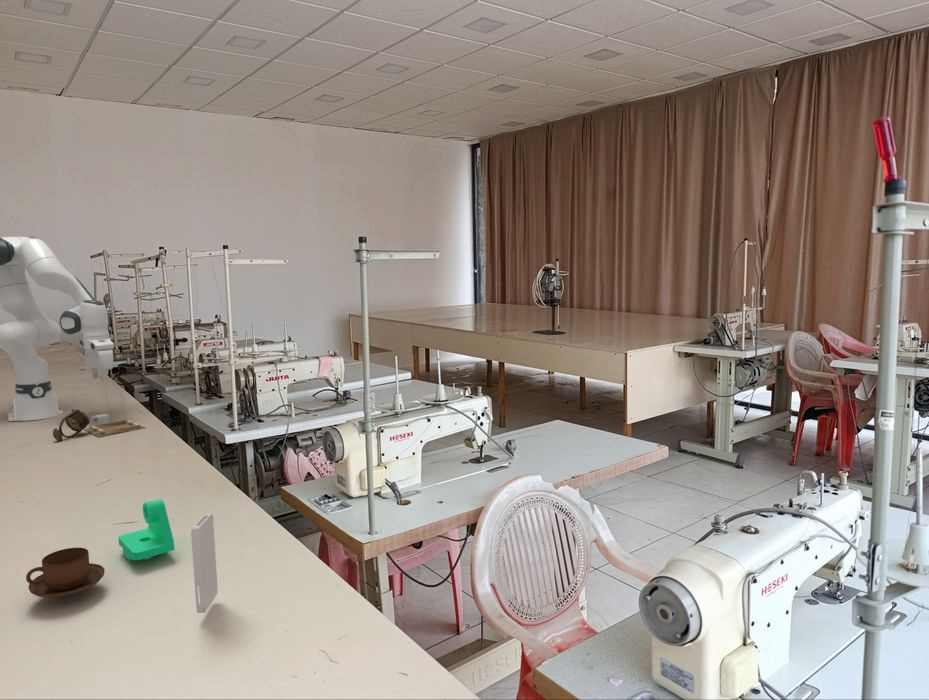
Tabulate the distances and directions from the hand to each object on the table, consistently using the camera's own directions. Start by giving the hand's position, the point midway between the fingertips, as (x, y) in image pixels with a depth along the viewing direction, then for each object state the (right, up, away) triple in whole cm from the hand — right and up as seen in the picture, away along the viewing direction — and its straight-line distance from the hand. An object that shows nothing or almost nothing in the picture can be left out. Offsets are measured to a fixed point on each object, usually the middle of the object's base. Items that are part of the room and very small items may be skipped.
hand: (100, 379), depth 249 cm
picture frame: (+10, -19, -9) cm, 23 cm away
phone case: (+94, -33, -135) cm, 168 cm away
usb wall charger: (0, -18, +2) cm, 18 cm away
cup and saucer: (+65, -33, -128) cm, 148 cm away
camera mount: (+72, -31, -113) cm, 137 cm away
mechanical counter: (+1, -20, -18) cm, 27 cm away
